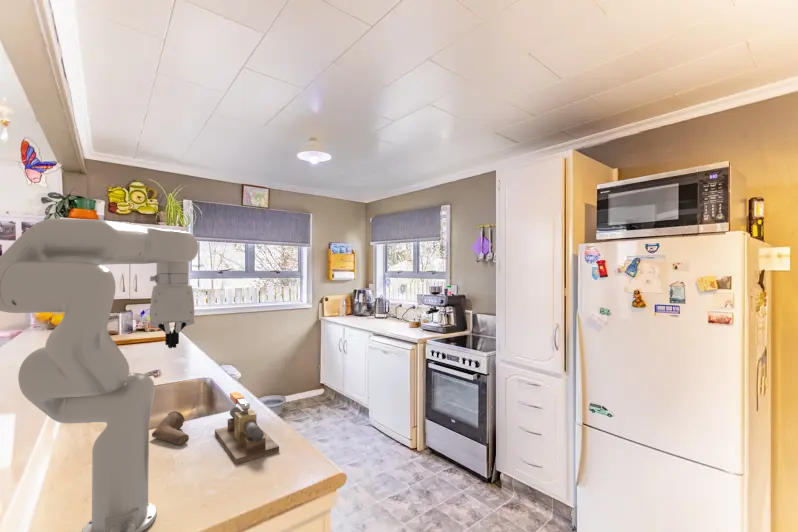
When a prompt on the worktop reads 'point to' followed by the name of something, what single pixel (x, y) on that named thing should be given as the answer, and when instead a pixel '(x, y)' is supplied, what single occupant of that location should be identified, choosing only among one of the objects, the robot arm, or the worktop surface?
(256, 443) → the valve stand
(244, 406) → the valve lever
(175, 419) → the pipe
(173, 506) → the worktop surface
